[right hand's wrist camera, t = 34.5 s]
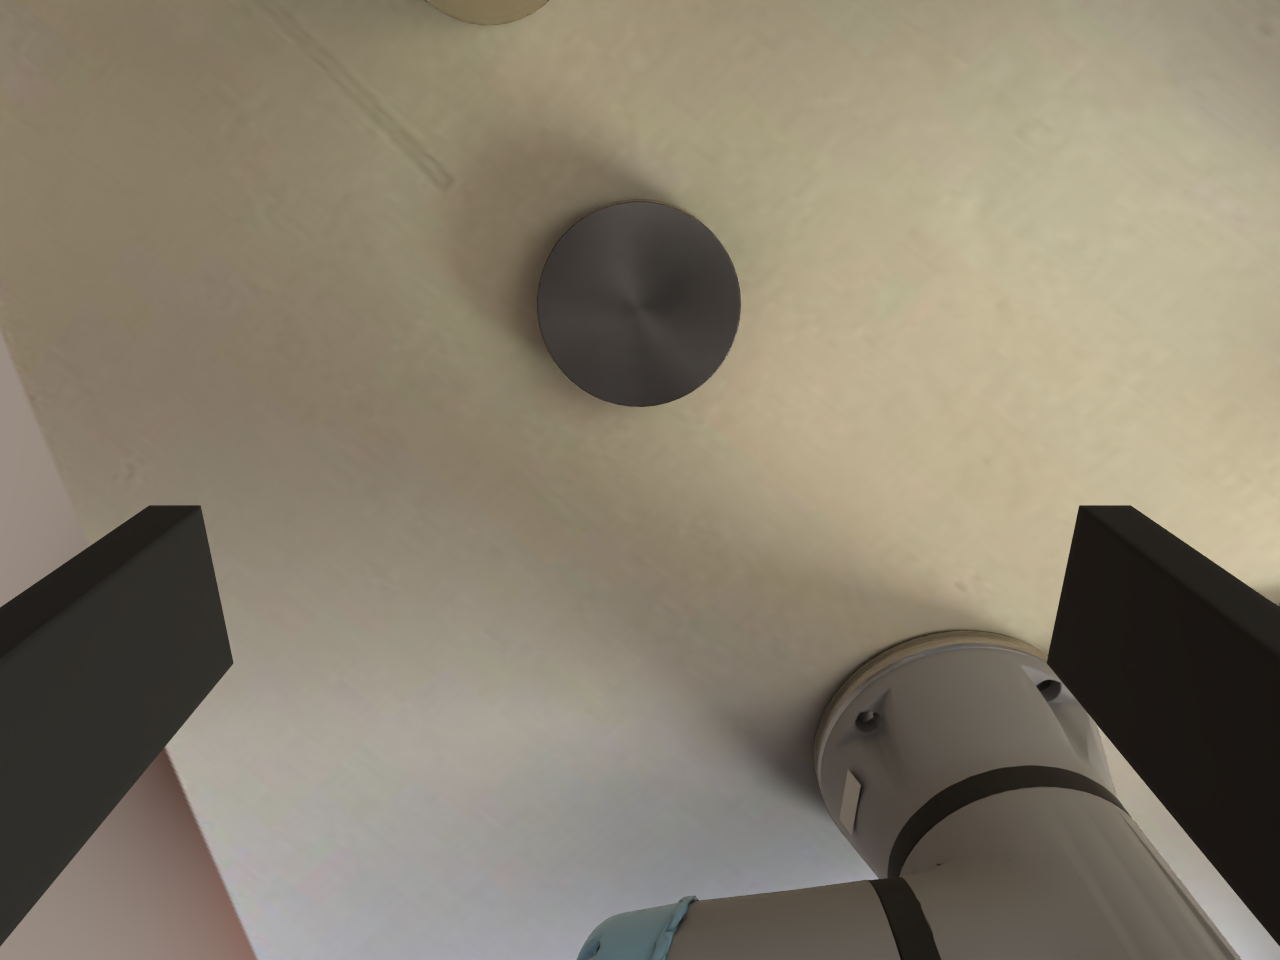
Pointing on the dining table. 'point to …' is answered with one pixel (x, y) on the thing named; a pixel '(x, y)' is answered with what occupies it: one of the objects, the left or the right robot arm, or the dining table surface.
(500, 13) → the jar
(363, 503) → the dining table surface
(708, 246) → the lid
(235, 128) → the dining table surface
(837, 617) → the dining table surface
